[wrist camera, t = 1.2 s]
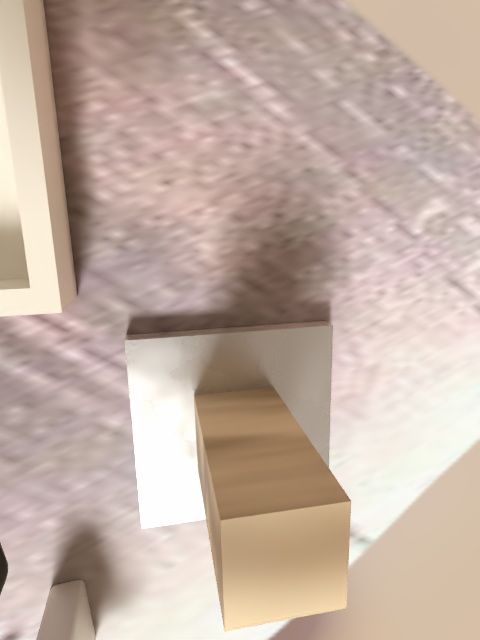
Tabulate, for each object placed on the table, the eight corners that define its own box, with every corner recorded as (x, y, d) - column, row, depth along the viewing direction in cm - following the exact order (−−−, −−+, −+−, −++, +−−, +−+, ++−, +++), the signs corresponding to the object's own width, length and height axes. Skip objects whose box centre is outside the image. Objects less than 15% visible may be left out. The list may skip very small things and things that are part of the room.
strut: (274, 459, 23) (346, 607, 14) (197, 469, 22) (224, 631, 14) (274, 387, 22) (351, 501, 13) (194, 395, 21) (220, 520, 13)
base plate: (321, 490, 25) (327, 501, 24) (142, 515, 23) (141, 528, 22) (325, 320, 23) (332, 325, 22) (126, 334, 21) (124, 340, 20)
